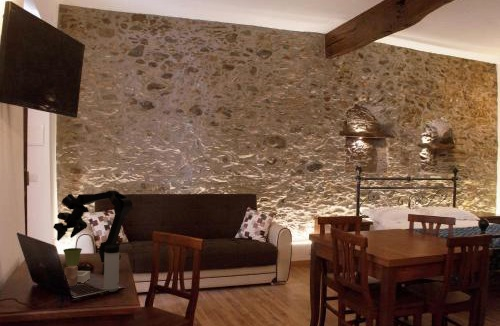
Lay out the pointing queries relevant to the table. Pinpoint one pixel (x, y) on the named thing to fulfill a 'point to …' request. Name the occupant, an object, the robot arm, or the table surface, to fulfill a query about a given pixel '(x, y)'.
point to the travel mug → (111, 267)
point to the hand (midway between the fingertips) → (64, 238)
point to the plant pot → (72, 256)
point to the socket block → (83, 276)
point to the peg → (71, 275)
